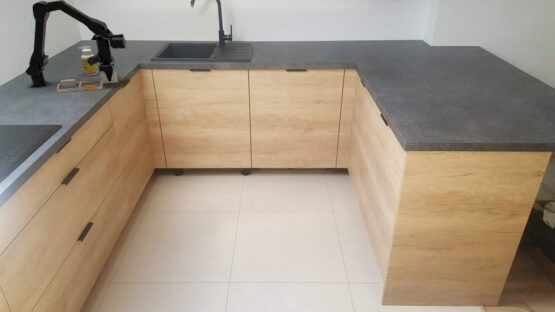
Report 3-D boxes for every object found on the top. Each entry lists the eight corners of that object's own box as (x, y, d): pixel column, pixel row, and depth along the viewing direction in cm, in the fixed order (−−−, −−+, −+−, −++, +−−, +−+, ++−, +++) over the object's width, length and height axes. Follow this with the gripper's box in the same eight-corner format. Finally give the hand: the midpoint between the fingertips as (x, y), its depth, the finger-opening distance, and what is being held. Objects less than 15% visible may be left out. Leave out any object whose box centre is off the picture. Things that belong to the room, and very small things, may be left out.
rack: (59, 87, 197) (58, 82, 195) (103, 83, 202) (102, 79, 201) (57, 93, 190) (55, 88, 189) (102, 89, 195) (101, 84, 194)
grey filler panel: (63, 89, 195) (61, 80, 193) (77, 87, 197) (75, 78, 194) (62, 90, 193) (60, 81, 191) (76, 89, 194) (74, 80, 192)
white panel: (103, 82, 205) (101, 72, 202) (117, 81, 207) (116, 71, 204) (102, 83, 203) (100, 73, 200) (117, 82, 204) (115, 72, 202)
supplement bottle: (83, 73, 216) (77, 49, 210) (95, 71, 220) (91, 47, 214) (87, 76, 212) (82, 52, 206) (100, 74, 216) (95, 50, 210)
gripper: (87, 45, 202) (94, 76, 210) (84, 54, 187) (91, 87, 194) (111, 44, 205) (116, 74, 213) (109, 53, 190) (115, 85, 197)
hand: (109, 80), depth 204 cm, fingers open, 3 cm apart
